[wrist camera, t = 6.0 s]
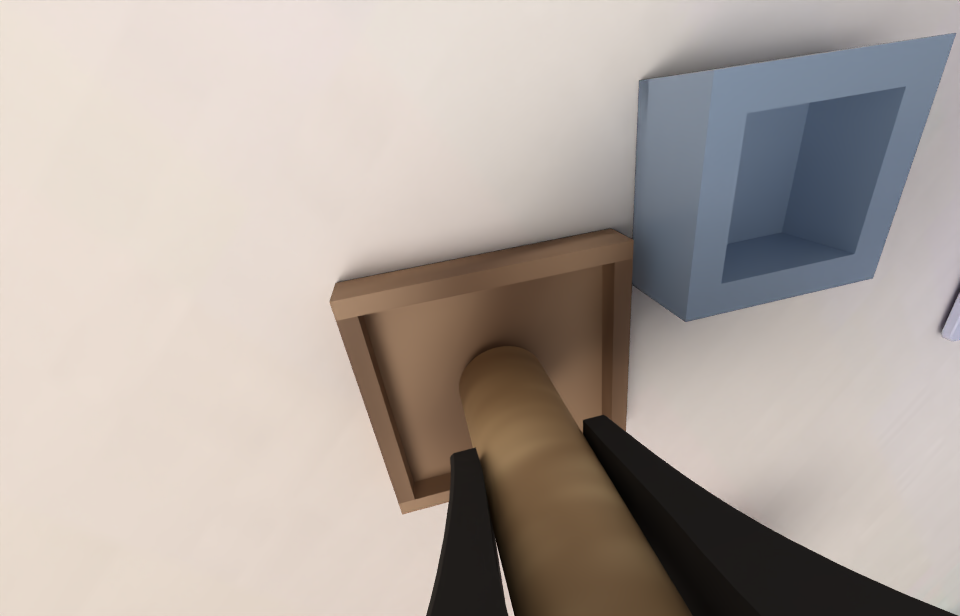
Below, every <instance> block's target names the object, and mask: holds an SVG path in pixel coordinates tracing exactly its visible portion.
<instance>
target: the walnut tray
mask: <svg viewBox="0 0 960 616" xmlns="http://www.w3.org/2000/svg"><path fill="white" fill-rule="evenodd" d="M633 245H634V240H633V239H631V238H629V237H627V236H625V235H623V234H621V233H619V232H617V231H615V230H613V229H611V228H610V229H605V230H600V231H595V232H590V233H585V234H580V235H575V236H570V237H565V238H560V239H555V240H550V241H545V242H540V243H535V244H530V245H524V246H519V247H514V248H509V249H504V250H499V251H494V252H489V253H484V254H479V255H474V256H469V257H464V258H459V259H454V260H449V261H444V262H439V263H434V264H429V265H424V266H419V267H414V268H409V269H404V270H399V271H393V272H388V273H383V274H378V275H373V276H368V277H363V278H358V279H353V280H348V281H343V282H338V283H335V287H334V290H333V293H332V296H331V299H330V305H331V308H332V311H333V314H334V316H335V319H336V322H337V325H338V328H339V331H340V334H341V337H342V340H343V343H344V346H345V348H346V351H347V354H348V357H349V360H350V363H351V366H352V369H353V372H354V375H355V378H356V381H357V383H358V386H359V389H360V392H361V395H362V398H363V401H364V404H365V407H366V410H367V413H368V415H369V418H370V421H371V424H372V427H373V430H374V433H375V436H376V439H377V442H378V445H379V447H380V450H381V453H382V456H383V459H384V462H385V465H386V468H387V471H388V474H389V477H390V480H391V482H392V485H393V488H394V491H395V494H396V497H397V500H398V503H399V506H400V509H401V512H402V514H406V513H409V512H413V511H417V510H421V509H424V508H428V507H432V506H435V505H439V504H443V503H446V502H449V494H450V480H451V465H450V457H451V455H452V454H453V453H456V452H460V451H463V450H467V449H471V448H473V446H472V442H471V438H470V434H469V430H468V426H467V422H466V418H465V414H464V410H463V406H462V402H461V398H460V394H459V382H460V378H461V376H462V373H463V371H464V370H465V368H466V367H467V365H468V364H469V363H470V362H471V361H472V360H473V359H474V358H475V357H477V356H478V355H480V354H481V353H483V352H485V351H487V350H490V349H492V348H496V347H502V346H515V347H520V348H523V349H525V350H527V351H529V352H531V353H532V354H533V355H534V356H535V357H536V358H537V359H538V360H539V362H540V364H541V365H542V367H543V368H544V370H545V372H546V373H547V375H548V377H549V378H550V380H551V382H552V383H553V385H554V387H555V388H556V390H557V392H558V393H559V395H560V397H561V398H562V400H563V402H564V403H565V405H566V407H567V408H568V410H569V412H570V413H571V415H572V417H573V418H574V420H575V421H576V423H577V425H578V426H579V428H580V430H581V431H582V433H583V420H585V419H588V418H592V417H596V416H600V415H605V416H607V417H608V418H609V419H611V420H612V421H613V422H614V423H616V424H617V425H618V426H619V427H621V428H622V429H623V430H624V431H626V414H627V389H628V365H629V341H630V317H631V293H632V269H633Z"/></svg>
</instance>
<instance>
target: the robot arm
mask: <svg viewBox="0 0 960 616" xmlns="http://www.w3.org/2000/svg"><path fill="white" fill-rule="evenodd" d="M941 334H942V337H943V338H945V339H948V340H950V341H958V340H960V292H959V295H958V297H957V299H956V301H955V303H954V306H953V308H952V310H951V312H950V314H949V317H948V319H947V321H946V323H945V325H944V328H943V330H942V333H941ZM583 435H584V436H585V438H586V440H587V441H588V443H589V445H590V446H591V448H592V450H593V451H594V453H595V455H596V456H597V458H598V460H599V461H600V463H601V465H602V466H603V468H604V470H605V471H606V473H607V474H608V476H609V478H610V479H611V481H612V483H613V484H614V486H615V488H616V489H617V491H618V493H619V494H620V496H621V498H622V499H623V501H624V503H625V504H626V506H627V508H628V509H629V511H630V513H631V514H632V516H633V518H634V519H635V521H636V523H637V524H638V526H639V527H640V529H641V531H642V532H643V534H644V536H645V537H646V539H647V541H648V542H649V544H650V546H651V547H652V549H653V551H654V552H655V554H656V556H657V557H658V559H659V561H660V562H661V564H662V566H663V567H664V569H665V571H666V572H667V574H668V576H669V577H670V579H671V580H672V582H673V584H674V585H675V587H676V589H677V590H678V592H679V594H680V595H681V597H682V599H683V600H684V602H685V604H686V605H687V607H688V609H689V610H690V612H691V614H692V615H693V616H957V615H955V614H952V613H950V612H947V611H945V610H942V609H940V608H938V607H935V606H933V605H930V604H928V603H925V602H923V601H920V600H918V599H915V598H913V597H910V596H908V595H906V594H903V593H901V592H899V591H896V590H894V589H892V588H890V587H887V586H885V585H883V584H881V583H878V582H876V581H874V580H872V579H870V578H867V577H865V576H863V575H861V574H858V573H856V572H854V571H852V570H850V569H848V568H846V567H844V566H841V565H839V564H837V563H835V562H833V561H831V560H829V559H827V558H825V557H823V556H821V555H819V554H817V553H815V552H813V551H811V550H809V549H807V548H806V547H804V546H802V545H800V544H798V543H796V542H794V541H792V540H790V539H788V538H786V537H784V536H782V535H780V534H778V533H777V532H775V531H773V530H771V529H769V528H768V527H766V526H764V525H762V524H760V523H759V522H757V521H755V520H754V519H752V518H750V517H748V516H747V515H745V514H743V513H742V512H740V511H738V510H737V509H735V508H733V507H732V506H730V505H728V504H727V503H725V502H724V501H722V500H721V499H719V498H717V497H716V496H714V495H713V494H711V493H710V492H708V491H707V490H705V489H704V488H702V487H701V486H699V485H698V484H696V483H695V482H693V481H692V480H690V479H689V478H687V477H686V476H685V475H683V474H682V473H680V472H679V471H677V470H676V469H675V468H673V467H672V466H671V465H669V464H668V463H666V462H665V461H664V460H662V459H661V458H659V457H658V456H657V455H655V454H654V453H653V452H651V451H650V450H649V449H648V448H646V447H645V446H644V445H642V444H641V443H640V442H638V441H637V440H636V439H635V438H633V437H632V436H631V435H629V434H628V433H627V432H626V431H624V430H623V429H622V428H621V427H619V426H618V425H617V424H616V423H614V422H613V421H612V420H611V419H609V418H608V417H607V416H605V415H600V416H596V417H592V418H588V419H585V420H583ZM450 465H451V480H450V494H449V505H448V512H447V519H446V526H445V533H444V539H443V544H442V549H441V554H440V559H439V564H438V569H437V574H436V579H435V583H434V587H433V591H432V596H431V600H430V603H429V607H428V611H427V615H426V616H508V613H507V609H506V604H505V598H504V591H503V585H502V579H501V572H500V566H499V559H498V553H497V546H496V540H495V535H494V531H493V527H492V523H491V517H490V511H489V504H488V498H487V492H486V487H485V481H484V476H483V471H482V467H481V464H480V460H479V456H478V453H477V449H476V447H475V448H471V449H467V450H463V451H460V452H456V453H453V454H452V455H451V457H450Z"/></svg>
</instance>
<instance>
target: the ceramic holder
mask: <svg viewBox="0 0 960 616" xmlns="http://www.w3.org/2000/svg"><path fill="white" fill-rule="evenodd" d="M955 35H956V33H952V34H945V35H938V36H931V37H924V38H917V39H910V40H903V41H896V42H890V43H883V44H876V45H869V46H862V47H855V48H848V49H841V50H834V51H828V52H821V53H815V54H808V55H802V56H795V57H789V58H782V59H776V60H769V61H763V62H756V63H750V64H743V65H737V66H730V67H724V68H717V69H711V70H704V71H698V72H691V73H685V74H678V75H672V76H665V77H659V78H652V79H646V80H639V98H638V123H637V148H636V173H635V197H634V222H633V240H634V245H633V269H632V285H633V286H635V287H636V288H638V289H639V290H641V291H642V292H643V293H645V294H646V295H648V296H649V297H651V298H652V299H653V300H655V301H656V302H658V303H659V304H661V305H662V306H663V307H665V308H666V309H668V310H669V311H670V312H672V313H673V314H675V315H676V316H678V317H679V318H680V319H682V320H683V321H685V322H687V321H692V320H696V319H700V318H705V317H709V316H713V315H717V314H722V313H726V312H730V311H735V310H739V309H743V308H747V307H752V306H756V305H760V304H765V303H769V302H773V301H777V300H782V299H786V298H790V297H795V296H799V295H803V294H808V293H812V292H816V291H820V290H825V289H829V288H833V287H838V286H842V285H846V284H850V283H855V282H859V281H863V280H868V279H872V278H873V277H874V274H875V271H876V268H877V265H878V262H879V259H880V256H881V253H882V250H883V247H884V244H885V241H886V238H887V235H888V232H889V230H890V227H891V224H892V221H893V218H894V215H895V212H896V209H897V206H898V203H899V200H900V197H901V194H902V191H903V188H904V185H905V182H906V180H907V177H908V174H909V171H910V168H911V165H912V162H913V159H914V156H915V153H916V150H917V147H918V144H919V141H920V138H921V135H922V132H923V129H924V127H925V124H926V121H927V118H928V115H929V112H930V109H931V106H932V103H933V100H934V97H935V94H936V91H937V88H938V85H939V82H940V79H941V77H942V74H943V71H944V68H945V65H946V62H947V59H948V56H949V53H950V50H951V47H952V44H953V41H954V38H955Z"/></svg>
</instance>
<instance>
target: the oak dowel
mask: <svg viewBox="0 0 960 616" xmlns="http://www.w3.org/2000/svg"><path fill="white" fill-rule="evenodd" d="M459 394H460V398H461V402H462V406H463V410H464V414H465V418H466V422H467V426H468V430H469V434H470V438H471V442H472V446H473V448H475V447H476V449H477V453H478V456H479V460H480V464H481V467H482V471H483V476H484V481H485V487H486V492H487V498H488V504H489V511H490V517H491V523H492V527H493V531H494V535H495V539H496V543H497V547H498V551H499V555H500V559H501V563H502V567H503V571H504V575H505V579H506V583H507V587H508V591H509V595H510V599H511V603H512V607H513V611H514V615H515V616H693V615H692V614H691V612H690V610H689V609H688V607H687V605H686V604H685V602H684V600H683V599H682V597H681V595H680V594H679V592H678V590H677V589H676V587H675V585H674V584H673V582H672V580H671V579H670V577H669V576H668V574H667V572H666V571H665V569H664V567H663V566H662V564H661V562H660V561H659V559H658V557H657V556H656V554H655V552H654V551H653V549H652V547H651V546H650V544H649V542H648V541H647V539H646V537H645V536H644V534H643V532H642V531H641V529H640V527H639V526H638V524H637V523H636V521H635V519H634V518H633V516H632V514H631V513H630V511H629V509H628V508H627V506H626V504H625V503H624V501H623V499H622V498H621V496H620V494H619V493H618V491H617V489H616V488H615V486H614V484H613V483H612V481H611V479H610V478H609V476H608V474H607V473H606V471H605V470H604V468H603V466H602V465H601V463H600V461H599V460H598V458H597V456H596V455H595V453H594V451H593V450H592V448H591V446H590V445H589V443H588V441H587V440H586V438H585V436H584V435H583V433H582V431H581V430H580V428H579V426H578V425H577V423H576V421H575V420H574V418H573V417H572V415H571V413H570V412H569V410H568V408H567V407H566V405H565V403H564V402H563V400H562V398H561V397H560V395H559V393H558V392H557V390H556V388H555V387H554V385H553V383H552V382H551V380H550V378H549V377H548V375H547V373H546V372H545V370H544V368H543V367H542V365H541V364H540V362H539V360H538V359H537V358H536V357H535V356H534V355H533V354H532V353H531V352H529V351H527V350H525V349H523V348H520V347H515V346H502V347H496V348H492V349H490V350H487V351H485V352H483V353H481V354H480V355H478V356H477V357H475V358H474V359H473V360H472V361H471V362H470V363H469V364H468V365H467V367H466V368H465V370H464V371H463V373H462V376H461V378H460V382H459Z"/></svg>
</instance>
